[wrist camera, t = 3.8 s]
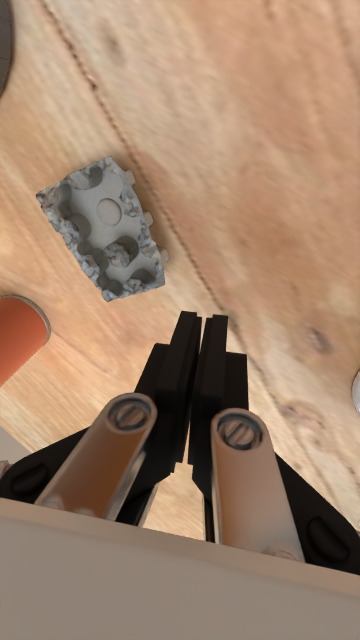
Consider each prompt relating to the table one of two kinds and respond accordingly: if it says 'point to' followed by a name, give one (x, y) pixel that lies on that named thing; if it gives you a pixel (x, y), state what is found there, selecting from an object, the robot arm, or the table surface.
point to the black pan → (4, 41)
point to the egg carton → (106, 229)
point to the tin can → (19, 333)
